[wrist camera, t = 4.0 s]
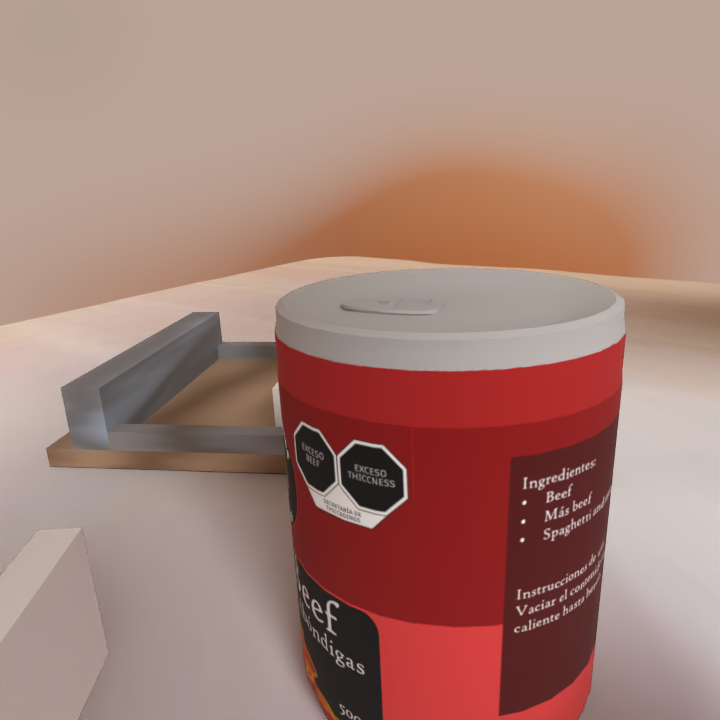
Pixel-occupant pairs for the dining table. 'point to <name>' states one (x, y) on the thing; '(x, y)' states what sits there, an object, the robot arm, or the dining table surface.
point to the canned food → (450, 487)
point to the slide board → (177, 405)
